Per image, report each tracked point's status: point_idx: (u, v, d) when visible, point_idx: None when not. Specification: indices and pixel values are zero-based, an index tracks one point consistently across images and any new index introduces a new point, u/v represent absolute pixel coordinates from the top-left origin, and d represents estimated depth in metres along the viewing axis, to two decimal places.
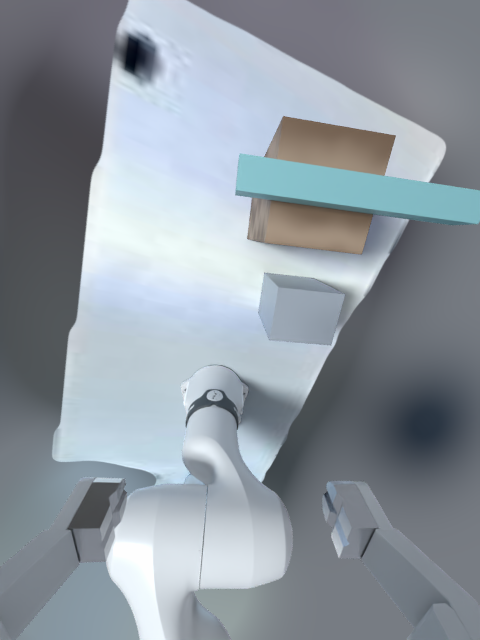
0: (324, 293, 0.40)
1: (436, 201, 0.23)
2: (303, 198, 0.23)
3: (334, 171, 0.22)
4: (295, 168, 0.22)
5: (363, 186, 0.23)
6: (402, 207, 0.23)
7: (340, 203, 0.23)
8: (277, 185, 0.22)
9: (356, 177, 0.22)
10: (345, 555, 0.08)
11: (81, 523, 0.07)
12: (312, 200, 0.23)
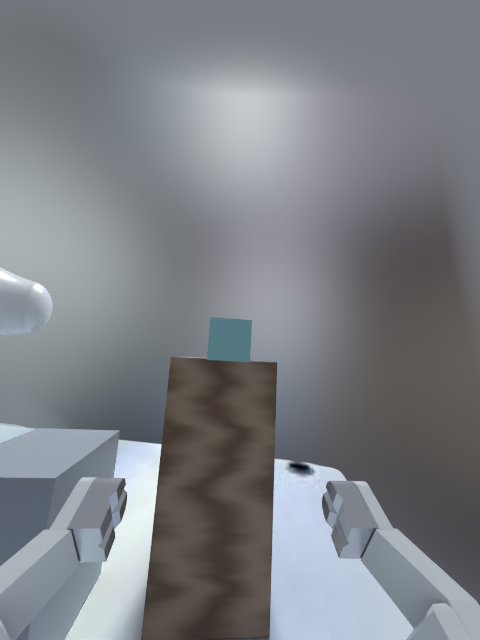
0: (80, 457, 0.22)
1: None
2: None
3: None
4: None
5: None
6: None
7: None
8: None
9: None
10: (345, 555, 0.08)
11: (81, 523, 0.07)
12: None
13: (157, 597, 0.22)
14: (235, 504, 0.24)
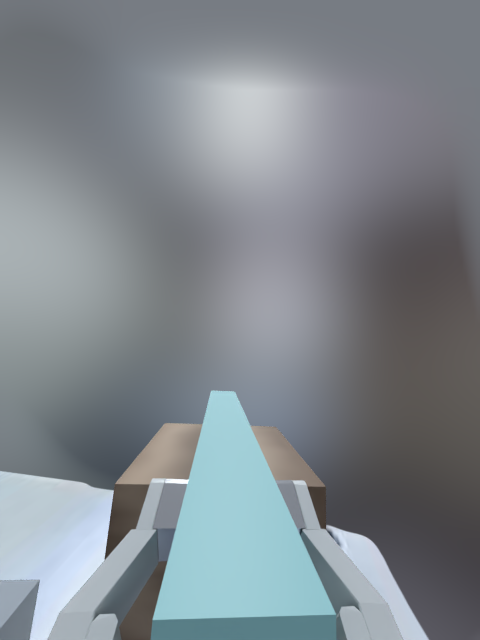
0: None
1: (230, 464, 0.09)
2: (209, 400, 0.23)
3: (238, 406, 0.20)
4: (233, 398, 0.24)
5: (230, 414, 0.17)
6: (209, 434, 0.12)
7: (208, 408, 0.19)
8: (218, 395, 0.25)
9: (237, 412, 0.18)
10: None
11: (164, 523, 0.07)
12: None
13: None
14: None
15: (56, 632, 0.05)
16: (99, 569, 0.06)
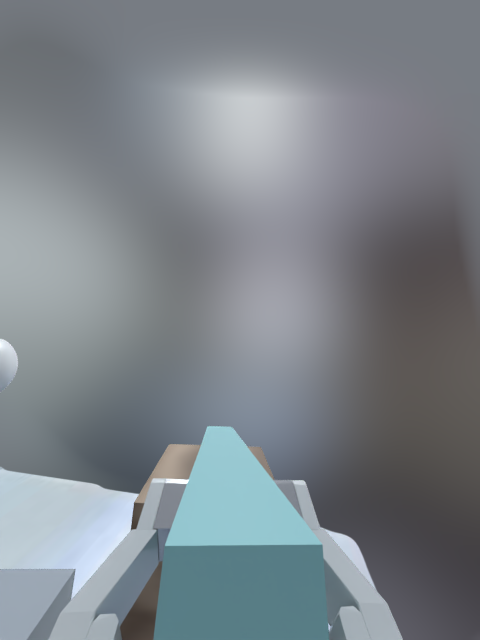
0: None
1: (229, 469, 0.09)
2: (206, 432, 0.22)
3: (235, 435, 0.20)
4: (230, 431, 0.24)
5: (227, 441, 0.17)
6: (207, 452, 0.13)
7: (205, 437, 0.19)
8: (215, 429, 0.25)
9: (235, 439, 0.18)
10: None
11: (165, 523, 0.07)
12: (205, 434, 0.21)
13: None
14: None
15: (57, 632, 0.05)
16: (100, 569, 0.06)
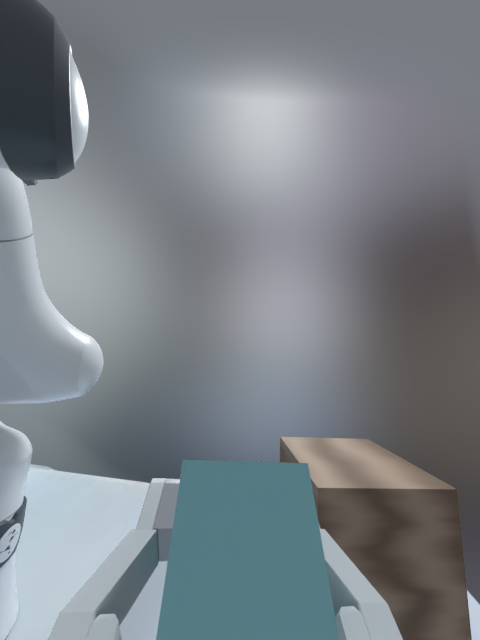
0: None
1: None
2: None
3: None
4: None
5: None
6: None
7: None
8: None
9: None
10: None
11: (164, 523, 0.07)
12: None
13: None
14: None
15: (56, 632, 0.05)
16: (99, 569, 0.06)
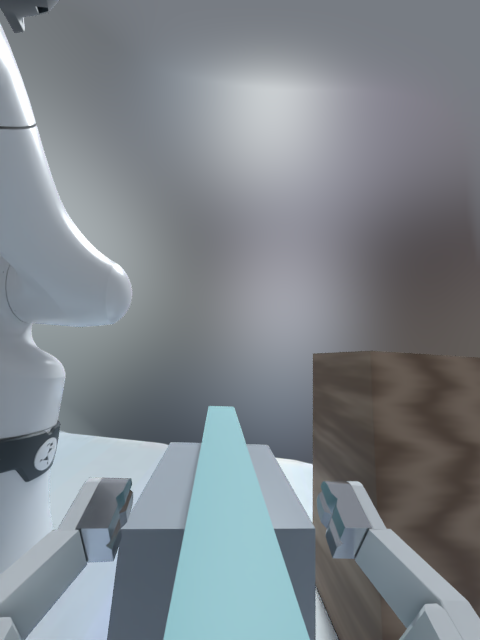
0: (289, 488, 0.16)
1: (231, 540, 0.07)
2: (206, 421, 0.21)
3: (238, 430, 0.18)
4: (232, 418, 0.22)
5: (229, 445, 0.15)
6: (204, 482, 0.10)
7: (204, 435, 0.17)
8: (216, 414, 0.23)
9: (237, 440, 0.16)
10: (339, 555, 0.08)
11: (89, 523, 0.07)
12: None
13: None
14: (477, 549, 0.18)
15: None
16: (6, 571, 0.06)
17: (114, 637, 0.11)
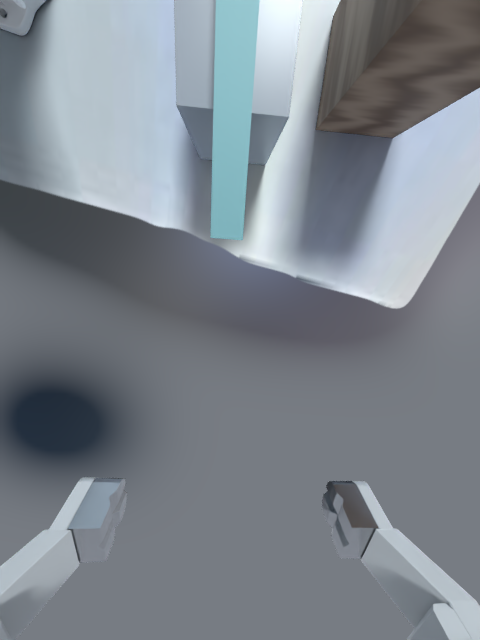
0: (292, 60, 0.19)
1: (229, 170, 0.19)
2: None
3: None
4: None
5: (240, 40, 0.16)
6: (219, 119, 0.18)
7: None
8: None
9: (250, 22, 0.16)
10: (345, 555, 0.08)
11: (81, 523, 0.07)
12: None
13: (332, 120, 0.31)
14: (427, 92, 0.24)
15: None
16: None
17: (189, 127, 0.24)
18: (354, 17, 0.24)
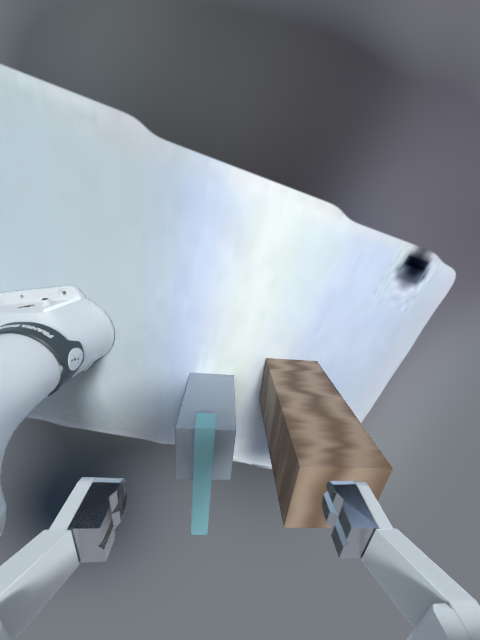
0: (230, 465, 0.41)
1: (200, 516, 0.41)
2: (194, 460, 0.36)
3: (210, 472, 0.37)
4: (210, 454, 0.36)
5: (204, 485, 0.38)
6: (195, 503, 0.40)
7: (193, 477, 0.37)
8: (200, 447, 0.35)
9: (208, 481, 0.38)
10: (345, 555, 0.08)
11: (81, 523, 0.07)
12: (194, 464, 0.37)
13: None
14: None
15: None
16: None
17: None
18: (269, 402, 0.46)
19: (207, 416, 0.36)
